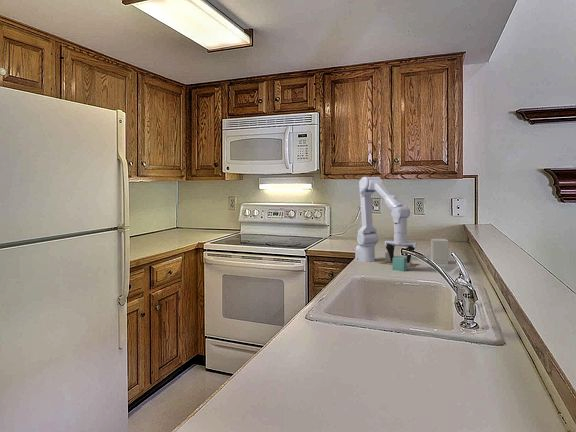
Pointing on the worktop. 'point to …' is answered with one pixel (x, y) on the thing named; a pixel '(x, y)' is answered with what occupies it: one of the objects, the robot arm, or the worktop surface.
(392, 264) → the walnut board
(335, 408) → the worktop surface
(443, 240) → the supplement box
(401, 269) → the aqua toy cube
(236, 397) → the worktop surface
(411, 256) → the post
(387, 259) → the post
